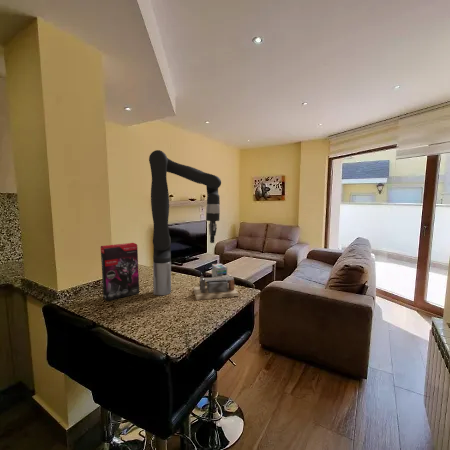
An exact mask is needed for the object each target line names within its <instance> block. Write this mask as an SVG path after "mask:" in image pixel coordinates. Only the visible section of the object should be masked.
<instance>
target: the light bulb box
mask: <svg viewBox="0 0 450 450" xmlns="http://www.w3.org/2000/svg"><path fill="white" fill-rule="evenodd" d="M222 275H228V266H226V265H224V264H223V263H211V278H214V277H222ZM226 281H227V282H228V280H226Z"/></svg>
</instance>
